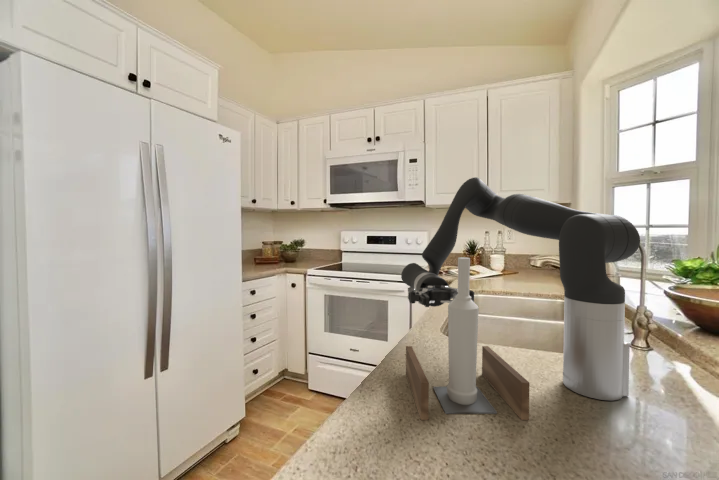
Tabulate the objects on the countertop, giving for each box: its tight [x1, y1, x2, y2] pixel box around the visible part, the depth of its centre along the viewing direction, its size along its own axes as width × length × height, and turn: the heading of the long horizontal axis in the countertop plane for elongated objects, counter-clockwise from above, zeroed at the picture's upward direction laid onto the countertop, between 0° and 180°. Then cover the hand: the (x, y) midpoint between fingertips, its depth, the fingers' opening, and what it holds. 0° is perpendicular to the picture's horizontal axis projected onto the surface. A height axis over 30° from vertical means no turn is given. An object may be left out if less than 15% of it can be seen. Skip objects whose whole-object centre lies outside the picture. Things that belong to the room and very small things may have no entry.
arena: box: [405, 345, 530, 421], centre depth 58 cm, size 17×16×6 cm
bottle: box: [446, 257, 480, 405], centre depth 56 cm, size 5×5×25 cm
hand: (448, 302), depth 65 cm, fingers open, 8 cm apart
